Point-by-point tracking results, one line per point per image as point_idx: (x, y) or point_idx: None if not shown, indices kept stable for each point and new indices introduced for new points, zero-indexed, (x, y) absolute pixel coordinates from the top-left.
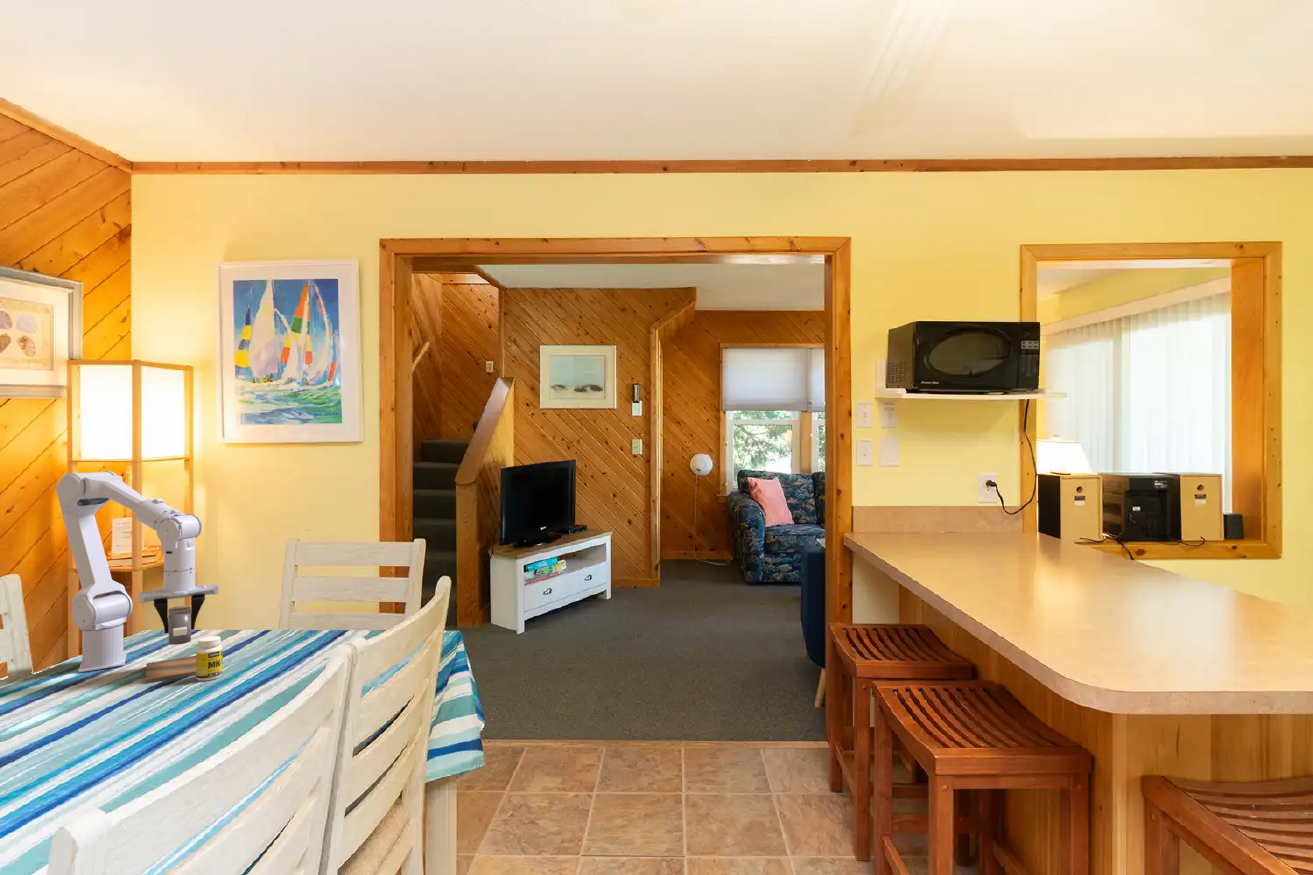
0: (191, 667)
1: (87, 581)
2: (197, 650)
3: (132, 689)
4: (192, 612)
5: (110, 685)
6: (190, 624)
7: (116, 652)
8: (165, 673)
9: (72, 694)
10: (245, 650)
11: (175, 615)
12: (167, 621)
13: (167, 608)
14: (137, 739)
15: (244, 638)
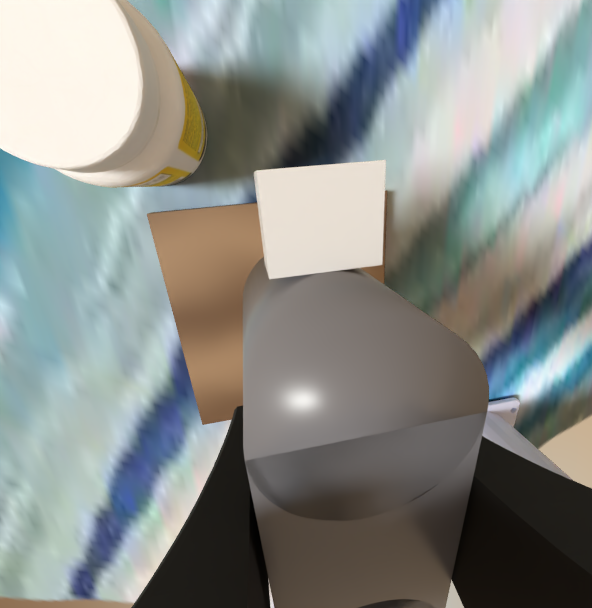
0: (242, 276)
1: None
2: (167, 61)
3: (418, 137)
4: (241, 523)
5: (469, 237)
6: (244, 342)
7: None
8: None
9: (559, 196)
10: (92, 443)
11: (420, 407)
12: None
13: (559, 550)
14: None
15: (133, 554)
